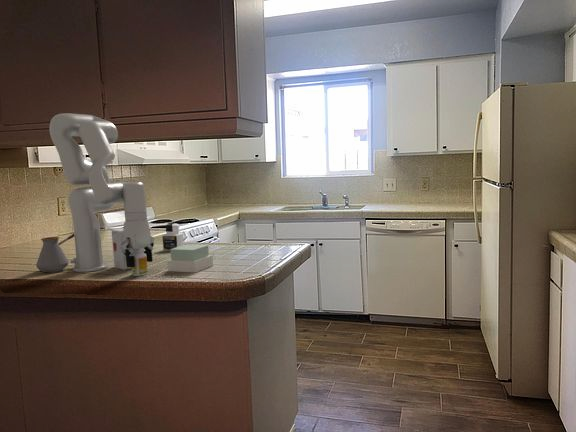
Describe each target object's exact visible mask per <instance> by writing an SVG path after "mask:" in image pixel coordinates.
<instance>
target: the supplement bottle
mask: <svg viewBox="0 0 576 432" xmlns="http://www.w3.org/2000/svg"><path fill="white" fill-rule="evenodd" d="M144 251H145V249H144V248H141V249H137V250H135V251H134V253H133V256H134V259H135V267H132V268H131V274H132V276H135V277H141V276H146V275H148V273H149V272H148V262H147V256H146V254H145V253H144Z"/></svg>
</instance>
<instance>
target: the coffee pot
mask: <svg viewBox="0 0 576 432" xmlns="http://www.w3.org/2000/svg"><path fill="white" fill-rule="evenodd" d="M72 238H74V233H73V234H71V235H69V236H68V237H67V238H65V239H64V240H61V241H59V239H60V236H51V237H50V236H49V237H43V238H41V239H40V240H41V241H42V243H43V244H42V247H41V250H40V253H39V256H38V258H37V261H36V264H35V266H36V268H37V269H38V270H39V271H40V272H42V273H43V272H52V273H57V272H56V271H59V272H62V271H64V270H65V269H66V268H67V266H68V265H69V262H70V261H69V260H68V257H67V256H66V254H65V252H64V251H63V249H62V246H61V245H62V244H64V243H66V242H67V241H68V240H69V241H70V239H72ZM63 269H64V270H63ZM61 270H62V271H61Z"/></svg>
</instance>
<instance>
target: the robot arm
mask: <svg viewBox="0 0 576 432" xmlns="http://www.w3.org/2000/svg"><path fill="white" fill-rule="evenodd" d="M49 135H50V139H51V141H52V143H53V146H54V147H55V149H56V151H57V154H58V155H59V160H60V163H61V164H60V165H61V167H62V169H63V173H64V176H65V179H66V181H67V183H68V184H70V185H71V186H83V187H77V188H75V189H73V190H71V191H70V193H69V194H68V198H67V201H68V206H69V209H70V213H71V217H72V218H71V219H72V227H73V234H74V237H73V238H74V246H75V247H74V248H75V257H73V258H72V259H71V260H70V261H69V262H70V264H74V266H72V271H73V272H75V273H85V272H86V273H88V272H96V271H101V270H104V269H107V268H108V267H109V266H108V263H105V262H104V258H103V247H102V235H101V225H100V223H101V222H100V220H99V218H98V217H97V215H96V214H95V212H98V211H99V212H100V211H106V210H109V209H111V208H112V207H113V206H114V205H115V204H116V205H117V204H123V210H124V222H123V227H122V228H123V243H122V244H121V245H120V247H121V249H122V252H123V253H124V256H126V264H127V267H135V259H134V256H133V253H134V251H135V250H137V249H141V248H144V253H145V254H146V256H147V263H151V262H153V261H154V260H153V250H154V249H153V248H154V246H155V245H154V243H155V237H154V236H152V234H151V230H150V225H149V221H148V213H147V212H148V211H147V200H146V190H145V189H146V187H145V183H143V182H141V181H139V182H138V181H137V182H136V181H134V182H128V181H127V182H126V181H120V182H111V180H110V176H109V173H108V170H107V167H106V166H107V165H110V163H112V162H113V161H114V159H115V157H116V153H115V152H114V150H113V148H112V146H111V144H115V142H116V141H117V140H118V137H119V133H118V129H117V127H116V125H114V124H113V123H112V122H111V121H109V120H106V119H103V118H101V117H98V116H95V115H91V114H82V113H81V114H80V113H70V112H69V113H59V114H56V115H54V116H53V117H52V118H51V120H50V123H49ZM73 137H79V138H80V139H81V142H82V144H83V147H84V148H85V150H86V152H87V154H88V156H89V159H90V160H87V159H86V157H85V156H84V154H83V150H82V148H81V146H80V144H78V142H77V141H76V140H75V139H74V138H73ZM84 186H86V187H84ZM130 250H131V251H130Z"/></svg>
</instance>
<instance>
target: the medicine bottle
mask: <svg viewBox="0 0 576 432" xmlns="http://www.w3.org/2000/svg"><path fill="white" fill-rule="evenodd" d="M165 233H166V234H163V235H162V248H163V251H165V252H166V251H169V252H171V251H170V249H173V248H176V247H180V246H183V245H185V244H184V243H185V242H184V233H183V232H180V224H179V223H167V224H166V225H165Z"/></svg>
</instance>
